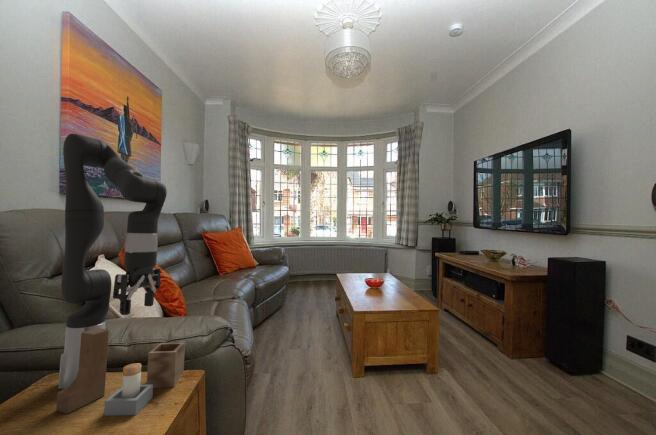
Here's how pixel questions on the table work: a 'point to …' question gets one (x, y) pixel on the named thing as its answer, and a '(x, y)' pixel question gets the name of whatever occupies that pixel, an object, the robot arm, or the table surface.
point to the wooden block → (87, 372)
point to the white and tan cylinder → (131, 380)
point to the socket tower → (165, 364)
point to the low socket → (128, 402)
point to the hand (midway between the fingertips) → (137, 310)
